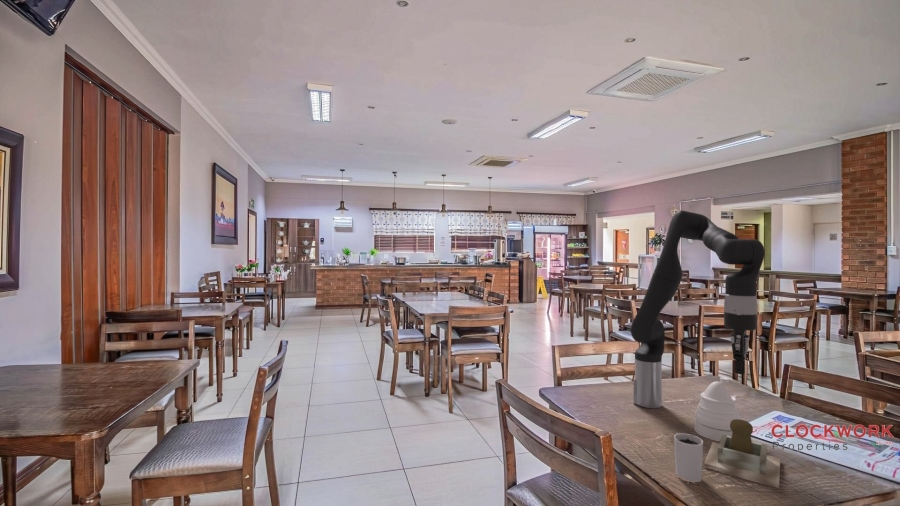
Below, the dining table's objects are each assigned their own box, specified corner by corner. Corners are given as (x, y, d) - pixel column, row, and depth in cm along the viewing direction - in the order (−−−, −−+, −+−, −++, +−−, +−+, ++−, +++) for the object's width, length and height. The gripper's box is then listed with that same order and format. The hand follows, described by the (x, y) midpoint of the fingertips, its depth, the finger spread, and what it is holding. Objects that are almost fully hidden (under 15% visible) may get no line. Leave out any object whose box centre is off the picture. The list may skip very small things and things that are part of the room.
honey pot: (734, 427, 139) (734, 373, 138) (748, 445, 126) (748, 385, 126) (690, 422, 143) (690, 370, 143) (699, 439, 131) (699, 381, 130)
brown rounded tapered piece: (759, 467, 111) (759, 426, 111) (734, 465, 112) (734, 424, 112) (748, 456, 117) (748, 417, 117) (724, 454, 118) (724, 415, 118)
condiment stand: (704, 467, 114) (704, 448, 114) (712, 445, 126) (712, 428, 126) (778, 488, 104) (778, 467, 103) (780, 462, 116) (780, 443, 116)
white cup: (668, 471, 112) (668, 433, 112) (692, 469, 113) (692, 432, 113) (684, 485, 105) (684, 445, 105) (709, 483, 106) (709, 444, 106)
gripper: (727, 307, 123) (726, 365, 123) (720, 312, 113) (720, 376, 113) (758, 309, 118) (758, 370, 119) (755, 315, 108) (754, 382, 108)
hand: (739, 373), depth 116 cm, fingers closed
